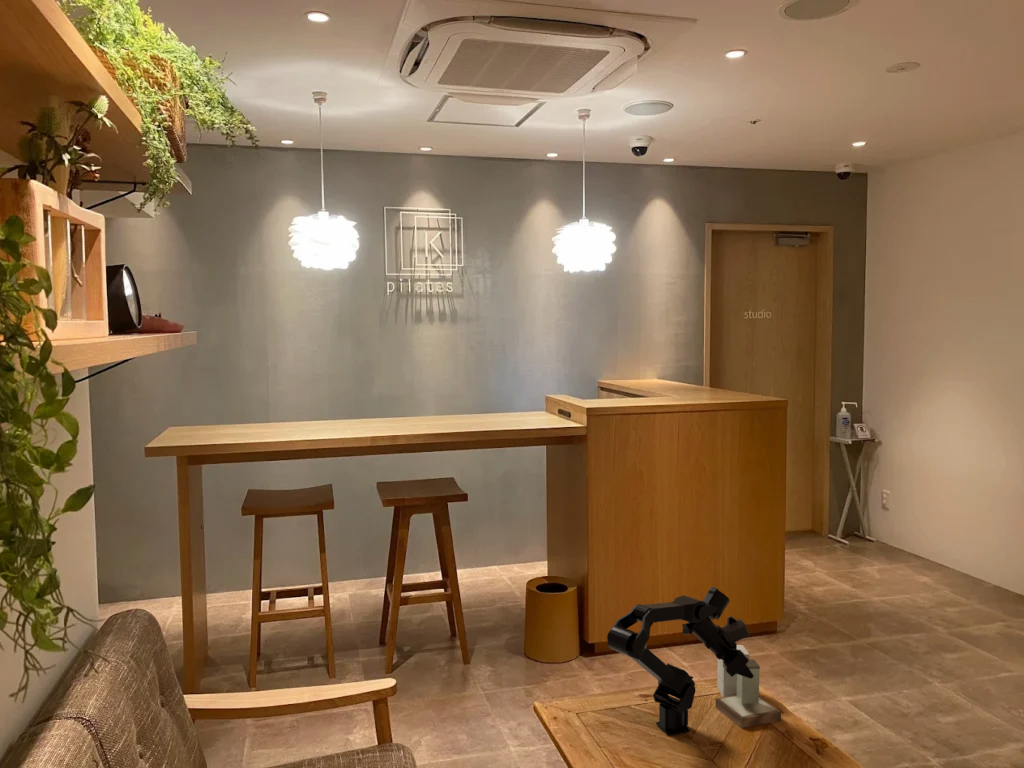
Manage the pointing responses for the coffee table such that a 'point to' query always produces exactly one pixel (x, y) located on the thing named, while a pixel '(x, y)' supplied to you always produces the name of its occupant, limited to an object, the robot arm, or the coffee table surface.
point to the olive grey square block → (749, 685)
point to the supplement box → (728, 677)
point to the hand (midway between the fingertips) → (749, 673)
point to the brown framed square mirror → (748, 711)
